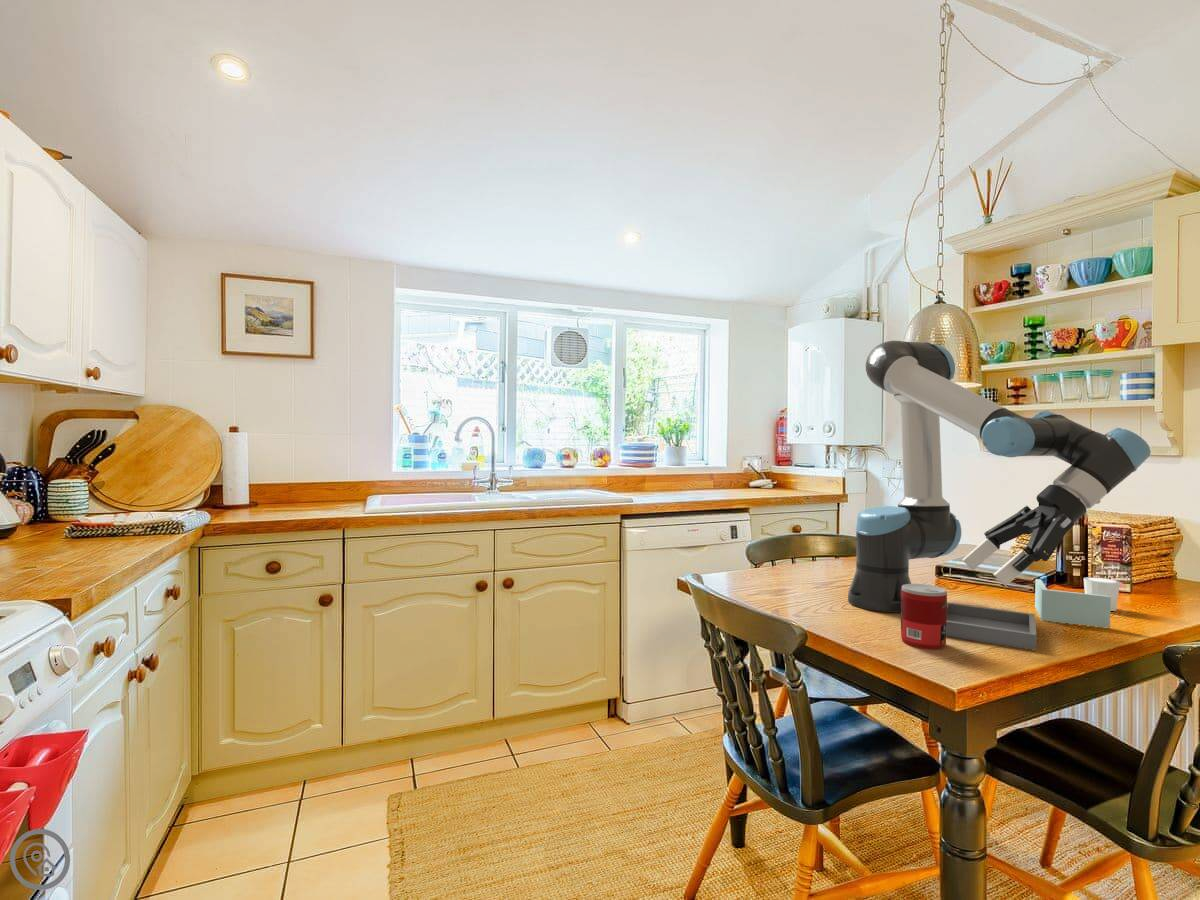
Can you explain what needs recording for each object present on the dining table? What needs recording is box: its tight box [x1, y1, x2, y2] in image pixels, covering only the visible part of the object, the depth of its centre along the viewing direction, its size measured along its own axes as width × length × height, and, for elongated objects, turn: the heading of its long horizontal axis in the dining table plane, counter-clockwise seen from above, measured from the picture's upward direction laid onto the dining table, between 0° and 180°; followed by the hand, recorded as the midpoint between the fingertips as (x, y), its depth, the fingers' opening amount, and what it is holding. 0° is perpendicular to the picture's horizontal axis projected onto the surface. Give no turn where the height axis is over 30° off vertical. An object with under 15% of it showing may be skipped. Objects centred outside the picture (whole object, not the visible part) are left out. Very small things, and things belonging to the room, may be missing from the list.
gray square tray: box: [946, 601, 1037, 651], centre depth 131 cm, size 17×17×3 cm
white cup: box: [1083, 576, 1121, 612], centre depth 148 cm, size 7×7×7 cm
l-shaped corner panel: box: [1034, 578, 1111, 629], centre depth 141 cm, size 12×12×8 cm
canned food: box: [900, 583, 948, 650], centre depth 123 cm, size 8×8×11 cm
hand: (982, 572), depth 121 cm, fingers open, 13 cm apart
